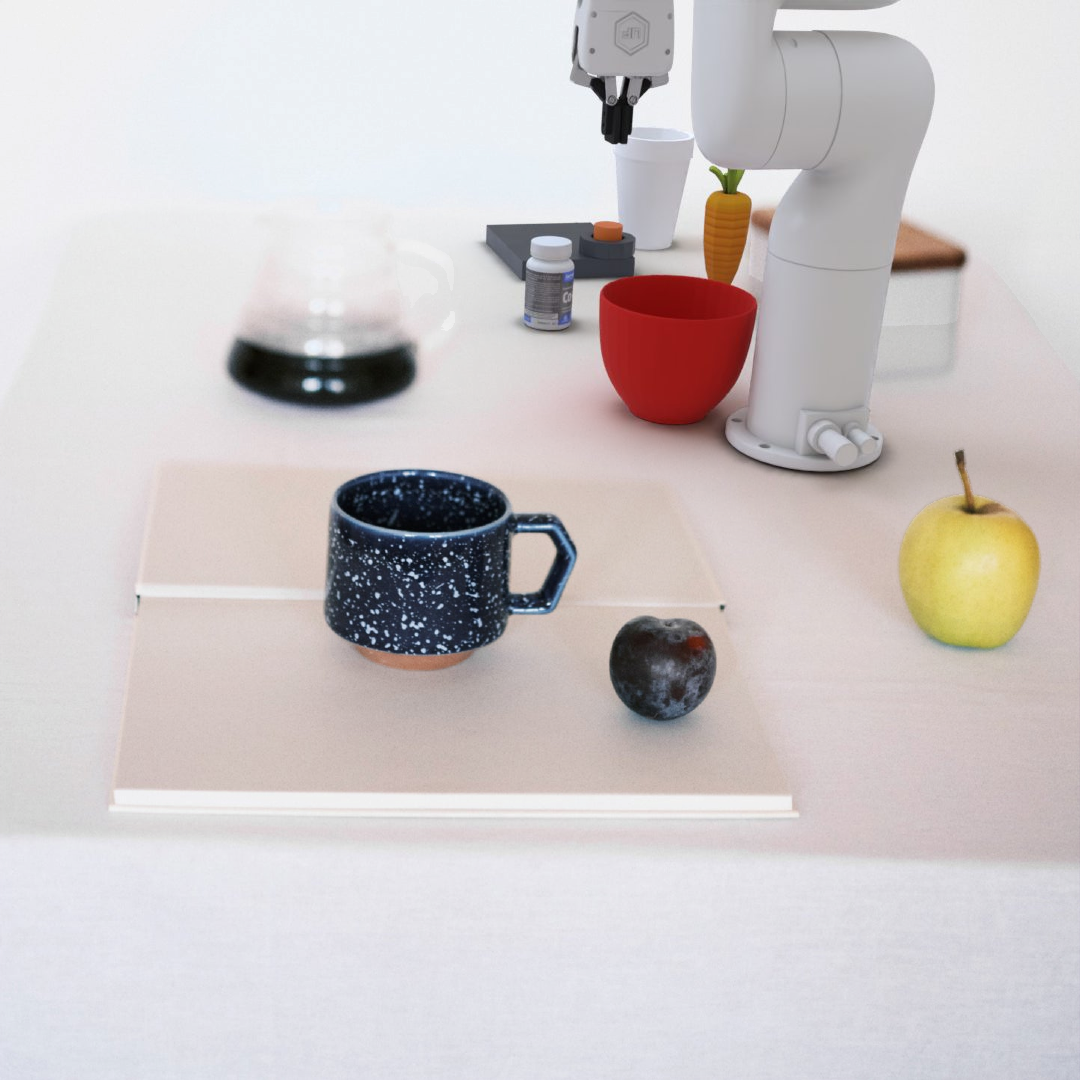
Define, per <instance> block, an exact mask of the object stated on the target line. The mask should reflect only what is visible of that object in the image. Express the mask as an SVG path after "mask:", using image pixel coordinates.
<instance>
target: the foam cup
mask: <svg viewBox="0 0 1080 1080" xmlns="http://www.w3.org/2000/svg"><path fill="white" fill-rule="evenodd" d="M694 147H695V137H694V133H691V132H689V131H686V130H682V129H677V128H672V127H663V126H653V125H651V126H650V125H632V133H631V135H628V142H627V144H620V143H618V144H613V148H612V149H613V150H612V151H613V154H614V156H615V159H614V160H615V175H616V197H617V198H616V199H617V215H618V223H620V224H622V225H623V232H625V233H629V234H631V235H633V236H634V237H635V238H636V243H635V250H636V249H638V250H646V251H647V250H648V251H649V250H650V251H651V250H653V251H655V250H656V251H658V250H662V249H664V250H665V249H668V248H669V247H671V246H672V242H673V240H674V236H675V231H676V226H677V223H678V218H679V217H678V216H679V213H680V208H681V204H682V199H683V194H684V190H685V186H686V181H687V176H688V173H689V167H690V164H691V159H693V157H694Z"/></svg>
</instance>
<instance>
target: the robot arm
mask: <svg viewBox="0 0 1080 1080" xmlns="http://www.w3.org/2000/svg"><path fill="white" fill-rule="evenodd" d="M899 1H900V0H693V9H692V10H693V11H692V13H693V15H692V44H691V46H692V47H691V74H690V75H691V77H690V111H691V112H690V114H691V124H692V130H693V131H692V132H693V135H694V137H695V138H694V141H695V143H696V145H697V147H698V150H699V152H700V154H701V155H702V156H703V157H704V158H705V159H706V160H707V161H708V162H709V163H711V164H712V165H714V166H716V167H718V168H723V169H727V170H728V169H737V170H745V171H769V170H770V171H771V170H773V171H775V170H776V171H777V170H779V171H780V170H800V171H799V173H798V174H797V175H796V177H795V178H794V180H793V181H792V183H791V184H790V186H788V188H787V190H786V191H785V193H784V194H783V196H782V197H781V199H780V201H779V203H778V204H777V206H776V209H775V211H774V214H773V217H772V219H771V223H770V226H769V231H768V238H767V247H766V253H765V260H764V261H765V264H764V270H763V278H762V286H761V292H760V293H761V294H760V302H759V309H758V310H759V311H758V319H757V325H756V335H755V341H754V342H755V343H754V351H753V358H752V359H753V360H752V368H751V377H750V383H749V384H750V385H749V392H748V398H747V399H748V401H747V406H743V407H741V408H738V409H737V410H735V411H733V412H732V413H731V414H730V415H729V416H728V417H727V419H726V422H725V430H724V431H725V432H724V434H725V437H726V439H727V441H728V442H729V443H730V444H731V446H732V447H734V448H735V449H736V450H738V451H739V452H740V453H741V454H744V455H746V456H747V457H750V458H752V459H755V460H757V461H760V462H763V463H766V464H768V465H772V466H777V467H780V468H781V467H782V468H784V469H785V468H786V469H790V470H799V471H804V472H805V471H808V472H839V471H848V470H854V469H858V468H861V467H864V466H866V465H870V464H871V463H872V462H874V461H876V460H877V459H878V458H879V457H880V456H881V454H882V449H883V444H884V438H883V437H884V436H883V435H882V433H881V431H880V430H879V429H878V428H877V427H876V426H875V425H874V424H873V423H871V422H870V414H871V409H870V408H869V405H870V399H871V395H872V394H871V393H872V387H873V382H874V376H875V371H876V370H875V369H876V363H877V357H878V351H879V347H880V346H879V345H880V339H881V335H882V333H881V332H882V327H883V321H884V315H885V310H886V304H887V303H886V302H887V297H888V296H887V295H888V290H889V284H890V278H891V273H892V266H893V262H894V257H895V251H896V245H897V240H898V234H899V228H900V223H901V217H902V213H903V208H904V205H905V200H906V195H907V192H908V187H909V184H910V181H911V177H912V174H913V171H914V168H915V165H916V162H917V160H918V156H919V153H920V152H921V148H922V147H923V146H922V145H923V144H924V140H925V137H926V134H927V133H928V132H927V131H928V129H929V126H930V123H931V119H932V114H933V110H934V106H935V98H936V84H935V77H934V73H933V69H932V67H931V64H930V62H929V60H928V58H927V57H926V55H925V54H924V53H923V51H921V49H919V47H918V46H916V45H915V44H913V43H912V42H911V41H910V40H907V39H905V38H902V37H899V36H897V35H893V34H889V33H886V32H881V31H870V30H837V29H836V30H835V29H834V30H833V29H832V30H831V29H828V30H827V29H812V30H775V29H774V27H775V19H776V16H777V12H778V10H793V11H794V10H795V11H796V10H797V11H798V10H799V11H800V10H801V11H803V10H804V11H805V10H806V11H863V10H864V11H868V10H875V9H876V10H877V9H882V8H885V7H889V6H892V5H894V4H897V3H898V2H899ZM674 2H675V1H674V0H577V1H576V6H575V12H574V13H575V14H574V21H573V27H572V36H571V37H572V41H571V63H572V68H571V72H570V75H569V81H570V82H571V83H572V84H575V85H578V86H581V87H584V88H587V89H591V91H592V92H593V93H594V94H595V95H596V97H597V98H598V99H599V102H601V103H602V106H601V122H600V132H601V133H600V134H601V135H602V136H603V139H604V142H605V141H606V142H607V143H609V144H611V145H614V144H618V143H620V144H627V142H628V135H631V133H632V126H633V121H634V107H635V106H636V105H637V104H638V103H639V101H640V99H641V98H642V97H643V96H644V95H645V94H646V93H647V92H648V90H650V89H654V88H658V87H662V86H665V85H668V83H669V81H670V77H669V72H671V70H672V68H673V64H674V57H675V5H674ZM617 77H622V80H621V81H622V82H621V85H620V86H621V87H620V92H619V96H618V89H617V87H618V86H617Z"/></svg>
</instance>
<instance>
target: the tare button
mask: <svg viewBox="0 0 1080 1080" xmlns="http://www.w3.org/2000/svg"><path fill="white" fill-rule="evenodd" d="M593 225H594V236H593V238H595V239H598V240H604V241H619V240H622V233H623V225H622V224H620V223H619V222H617V221H610V220H601V221H597V222H594V224H593Z"/></svg>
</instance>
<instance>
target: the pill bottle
mask: <svg viewBox="0 0 1080 1080" xmlns="http://www.w3.org/2000/svg"><path fill="white" fill-rule="evenodd" d="M571 253H572V241H571V240H569V239H567V238H563V237H556V236H541V237H536V238H533V239H532V240H531V255H532V256H533V257H531V258H530V259H529V260H528V261H527V264H526V281H525V286H524V287H525V288H524V305H523V306H524V309H523V310H524V311H523V323H524V324H525V325H526V326H527V327H529V328H532V329H535V330H540V331H559V330H564V329H567V328H568V327H569V326H570V325H571V323H572V310H573V294H574V281H575V279H574V263H573V262H572V260H571V259H569V257H571Z"/></svg>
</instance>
